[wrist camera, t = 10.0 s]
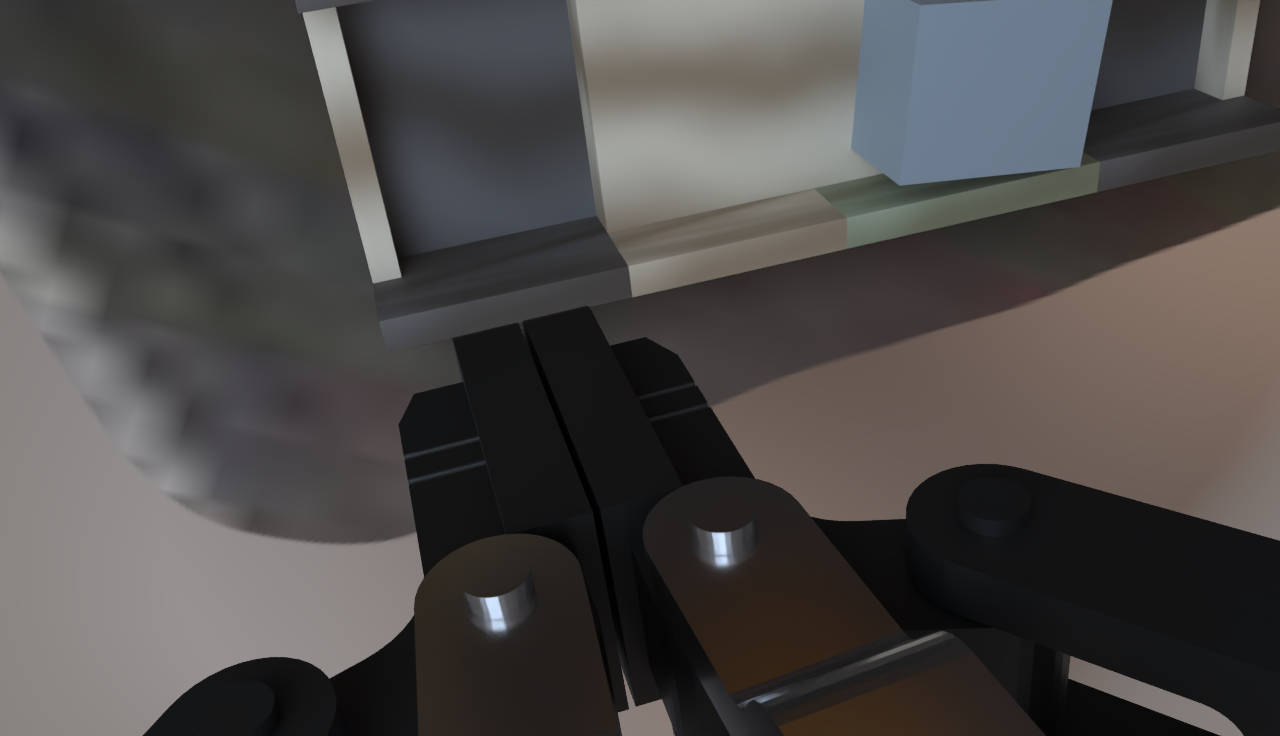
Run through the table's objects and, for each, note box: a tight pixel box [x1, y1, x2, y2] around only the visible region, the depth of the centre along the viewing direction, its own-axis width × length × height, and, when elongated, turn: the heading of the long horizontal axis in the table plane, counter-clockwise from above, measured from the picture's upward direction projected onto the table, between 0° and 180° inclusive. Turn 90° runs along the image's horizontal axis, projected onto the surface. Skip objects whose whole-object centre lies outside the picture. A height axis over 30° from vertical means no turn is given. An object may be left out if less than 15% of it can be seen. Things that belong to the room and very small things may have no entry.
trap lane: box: [295, 0, 1280, 353], centre depth 40 cm, size 12×35×5 cm, turn 97°
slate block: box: [851, 0, 1113, 186], centre depth 40 cm, size 6×7×4 cm
